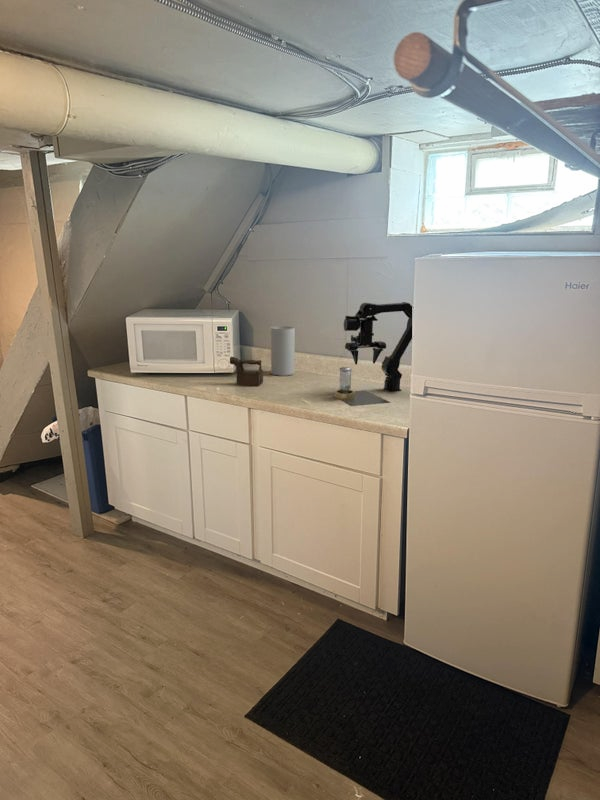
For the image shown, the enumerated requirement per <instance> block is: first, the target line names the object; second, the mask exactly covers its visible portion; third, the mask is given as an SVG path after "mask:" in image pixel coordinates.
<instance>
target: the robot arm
mask: <svg viewBox="0 0 600 800" xmlns="http://www.w3.org/2000/svg"><path fill="white" fill-rule="evenodd" d="M412 307H413V306H412V304H411V303H409V302H406V301H403V302H393V303H391V302H390V303H372V302H363V303H361V305H360V306H359V310H358V311H357V312H356V314H355V315H351V316H350V315H345V318H344V321H343V331H344V332H357V331H358V330H359V332H358V334H357V335H356V334H351V336H350V341H351V342H346V343H345V345H344V349H346V350H347V351H348V352H350V353H351V355H352V358H353V362H354V364H355V365H358V360H359V359H358V358H359V350H358V349H365V348H367V349H368V348H372V351H373V353H372V354H373V355H372V363H373V364H376V361H377V360H378V358H379V356H380V354H381V353H382V351H384V350H386V349H387V343H386V342H385V341H381V340H378V341H377V340H376V341H373V336H375V335H374V332H373V330H374V322H377V321H378V320H379V319H378V318H376V315H379V314H383V313H397V312H398V313H399V312H403V313H404V315H406V317H407V318H408V319H407V322H406V328H405V330H404V332H403V333H402V336H401V337H400V339H399V341H398V343H397V344H396V345H395V348H394V350H393V351H392V353H391V354H390V355H389V356H387V355H386V356H385V357H384V359H383V361H382V362H381V366H380V367H381V371H382V372H383V373H384V376H385V378H384V383H383V385H384V387H383V389H384V390H385V391H388V392H399V391H402V389H401V386H400V385H401V379H402V376H403V373H402V372H401V371H399V368H400V362H401V359H402V357H403V356H404V353H405V352H406V350H407V348H408V346H409V345H410V344H411V341H412V340H413V338H412Z"/></svg>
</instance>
